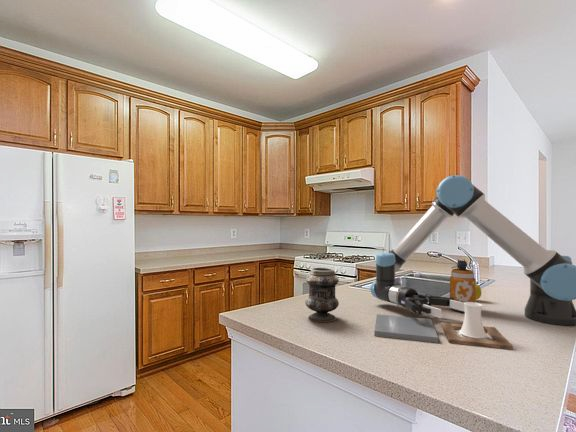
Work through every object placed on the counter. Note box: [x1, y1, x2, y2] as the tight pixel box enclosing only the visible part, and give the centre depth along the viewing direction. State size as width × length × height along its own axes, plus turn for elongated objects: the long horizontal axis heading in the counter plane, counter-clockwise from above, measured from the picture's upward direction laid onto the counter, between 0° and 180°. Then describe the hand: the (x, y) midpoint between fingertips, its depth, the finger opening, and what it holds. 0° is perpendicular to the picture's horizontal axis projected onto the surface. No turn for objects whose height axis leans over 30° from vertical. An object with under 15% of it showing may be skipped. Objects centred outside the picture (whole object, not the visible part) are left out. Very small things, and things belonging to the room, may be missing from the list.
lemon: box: [476, 283, 482, 301], centre depth 140 cm, size 6×6×8 cm
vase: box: [458, 302, 488, 340], centre depth 98 cm, size 8×8×10 cm
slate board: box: [374, 313, 439, 344], centre depth 104 cm, size 18×18×2 cm
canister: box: [449, 259, 477, 314], centre depth 126 cm, size 9×11×20 cm
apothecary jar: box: [304, 266, 340, 323], centre depth 115 cm, size 12×12×18 cm
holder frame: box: [440, 321, 514, 351], centre depth 98 cm, size 16×16×1 cm
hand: (454, 310), depth 103 cm, fingers open, 13 cm apart
